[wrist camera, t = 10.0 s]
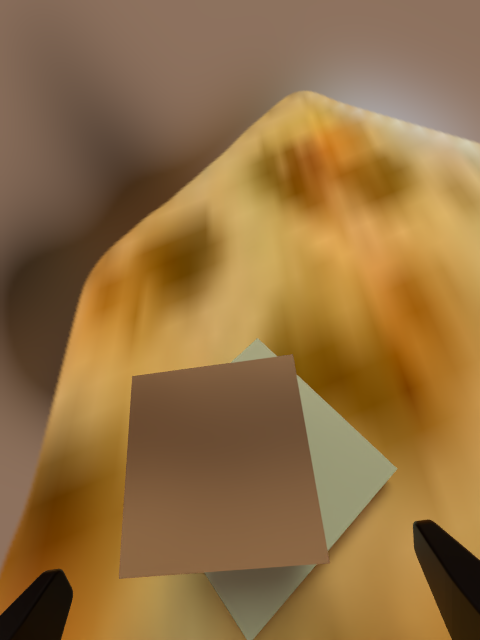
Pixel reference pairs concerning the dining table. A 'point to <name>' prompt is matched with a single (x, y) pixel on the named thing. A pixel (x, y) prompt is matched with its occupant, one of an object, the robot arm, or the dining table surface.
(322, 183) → the dining table surface
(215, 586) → the sage slab
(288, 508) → the walnut block
